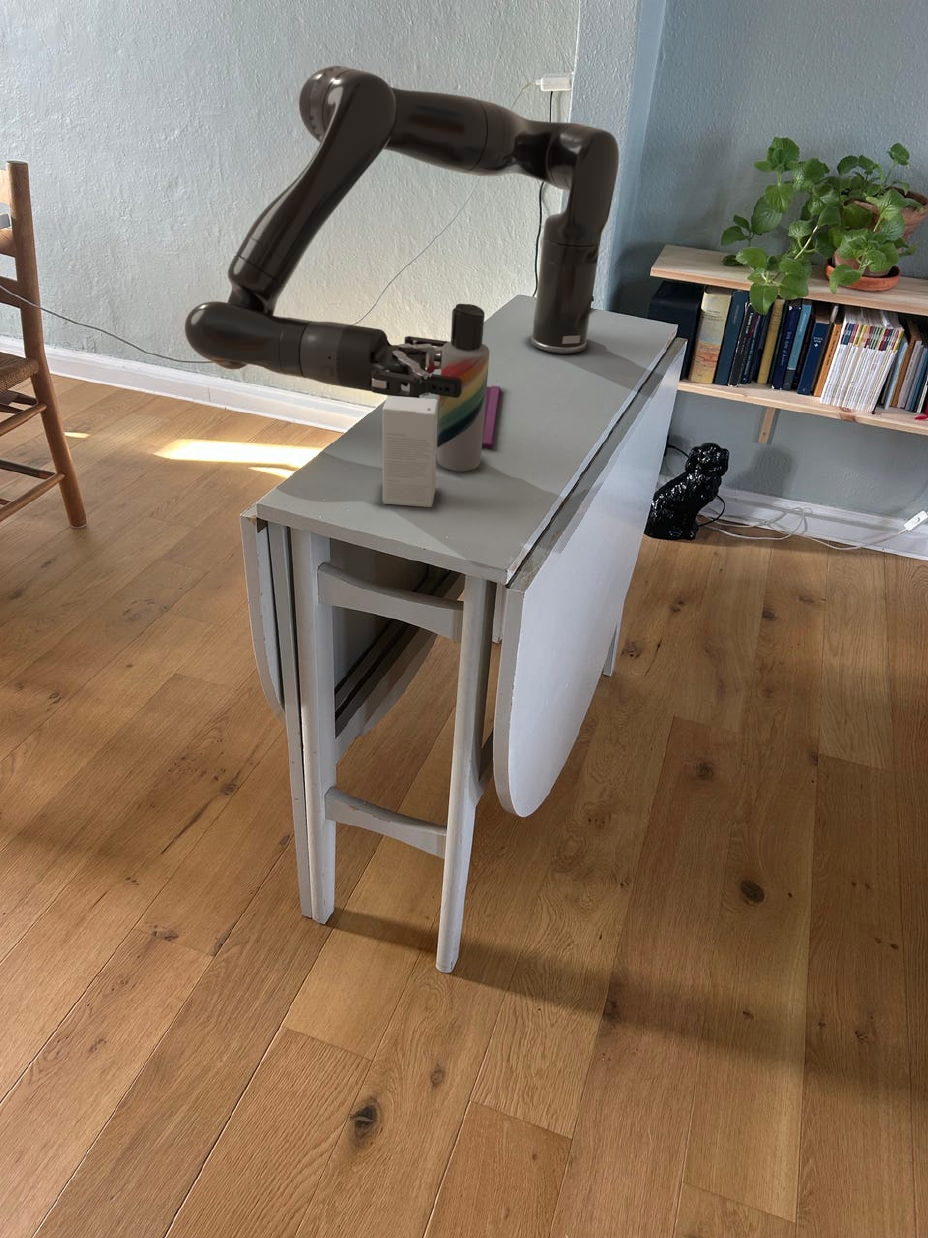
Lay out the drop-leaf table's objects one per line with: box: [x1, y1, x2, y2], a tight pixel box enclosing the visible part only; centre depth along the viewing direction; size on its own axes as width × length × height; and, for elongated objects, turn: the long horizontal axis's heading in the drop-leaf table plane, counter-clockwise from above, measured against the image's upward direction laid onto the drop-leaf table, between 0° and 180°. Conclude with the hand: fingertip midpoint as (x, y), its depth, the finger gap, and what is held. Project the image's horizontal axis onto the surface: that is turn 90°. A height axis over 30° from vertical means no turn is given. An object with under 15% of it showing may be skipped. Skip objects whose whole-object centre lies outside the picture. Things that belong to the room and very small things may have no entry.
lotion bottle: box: [436, 303, 490, 472], centre depth 110 cm, size 6×6×20 cm
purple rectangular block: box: [437, 385, 502, 449], centre depth 127 cm, size 20×8×1 cm, turn 175°
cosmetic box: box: [381, 395, 439, 508], centre depth 104 cm, size 6×4×12 cm
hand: (470, 375), depth 108 cm, fingers open, 8 cm apart
